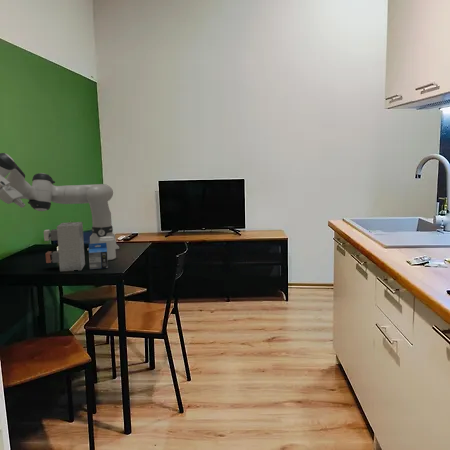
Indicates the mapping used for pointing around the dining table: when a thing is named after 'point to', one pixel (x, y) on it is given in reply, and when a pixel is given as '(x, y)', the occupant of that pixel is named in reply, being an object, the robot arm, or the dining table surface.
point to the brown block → (49, 257)
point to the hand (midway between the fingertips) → (23, 206)
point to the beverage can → (109, 246)
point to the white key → (47, 235)
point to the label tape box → (98, 256)
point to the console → (69, 246)
